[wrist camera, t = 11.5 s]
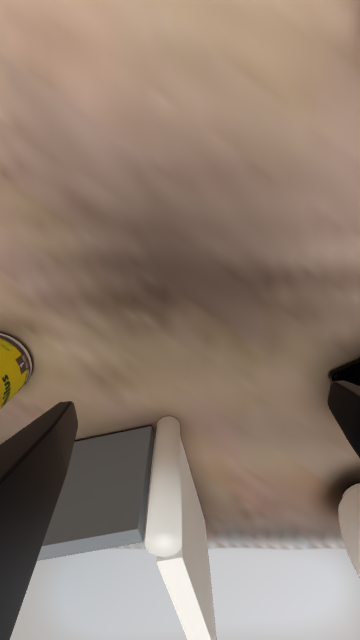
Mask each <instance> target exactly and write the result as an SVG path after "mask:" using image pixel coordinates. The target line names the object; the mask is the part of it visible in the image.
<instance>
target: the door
mask: <svg viewBox="0 0 360 640" xmlns="http://www.w3.org/2000/svg"><path fill="white" fill-rule="evenodd" d="M154 438H155V436H154V433H153V430H152V427H151V426H150V427H145V428H140V429H135V430H130V431H125V432H120V433H115V434H110V435H105V436H101V437H96V438H91V439H86V440H81V441H76V442H74V446H73V450H72V454H71V459H70V463H69V467H68V471H67V475H66V478H65V481H64V484H63V487H62V490H61V493H60V495H59V498H58V501H57V504H56V507H55V510H54V513H53V516H52V519H51V521H50V524H49V527H48V530H47V533H46V536H45V539H44V542H43V545H42V547H41V550H40V553H39V556H38V559H37V561H38V560H44V559H50V558H56V557H62V556H67V555H72V554H79V553H84V552H90V551H96V550H101V549H107V548H113V547H118V546H124V545H130V544H135V543H141V542H143V538H144V529H145V520H146V511H147V502H148V493H149V484H150V474H151V465H152V456H153V447H154Z"/></svg>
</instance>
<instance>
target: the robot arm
mask: <svg viewBox="0 0 360 640" xmlns="http://www.w3.org/2000/svg"><path fill="white" fill-rule="evenodd" d="M336 375H337V376H336ZM335 376H336V377H335ZM329 378H330V381H331V386H330V391H329V396H328V406H329V409H330V410H331V412H332V414H333V415H334V417H335V419H336V421H337V422H338V424H339V426H340V427H341V429H342V431H343V433H344V434H345V436H346V438H347V440H348V441H349V443H350V444H351V446H352V448H353V449H354V451H355V452H356V453H357V455H358V456H359V458H360V359H358V360H355V361H353V362H351V363H349V364H346V365H344V366H342V367H340V368H337V369H335V370H333V371H331V372H330V373H329ZM77 428H78V420H77V416H76V411H75V406H74V403H73V402H72V401H68V402H60V403H58V404H57V405H55V406H54V407H52V408H51V409H50V410H48V411H47V412H45V413H44V414H43V415H41V416H40V417H39V418H37V419H36V420H34V421H33V422H32V423H30V424H29V425H27V426H26V427H25V428H23V429H22V430H20V431H19V432H18V433H16V434H15V435H13V436H12V437H11V438H9V439H8V440H6V441H5V442H4V443H2V444H1V445H0V640H10V637H11V634H12V631H13V628H14V625H15V623H16V620H17V617H18V614H19V611H20V608H21V605H22V602H23V599H24V596H25V594H26V590H27V588H28V585H29V582H30V579H31V576H32V573H33V570H34V567H35V565H36V562H37V559H38V556H39V553H40V550H41V547H42V545H43V542H44V539H45V536H46V533H47V530H48V527H49V524H50V521H51V519H52V516H53V513H54V510H55V507H56V504H57V501H58V498H59V495H60V493H61V490H62V487H63V484H64V481H65V478H66V475H67V471H68V467H69V463H70V459H71V454H72V450H73V446H74V441H75V437H76V432H77Z"/></svg>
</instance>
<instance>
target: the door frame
mask: <svg viewBox="0 0 360 640" xmlns="http://www.w3.org/2000/svg"><path fill="white" fill-rule="evenodd" d="M145 548H146V549H147V551H148V552H149V553H151V554H153V555H155V556H157V561H156V562H157V564H158V567H159V569H160V572H161V575H162V577H163V579H164V582H165V584H166V587H167V590H168V592H169V594H170V597H171V599H172V602H173V604H174V607H175V609H176V612H177V615H178V617H179V619H180V622H181V624H182V627H183V629H184V632H185V634H186V637H187V639H188V640H217V637H216V627H215V617H214V607H213V597H212V587H211V577H210V566H209V556H208V546H207V536H206V526H205V520H204V516H203V513H202V509H201V506H200V502H199V499H198V496H197V492H196V489H195V485H194V482H193V478H192V475H191V471H190V468H189V465H188V461H187V458H186V454H185V451H184V447H183V444H182V441H181V437H180V423H179V421H178V420H177V419H176V418H174V417H171V416H166V417H163V418H161V419H160V420H159V421H158V423H157V430H156V440H155V449H154V459H153V469H152V478H151V488H150V497H149V507H148V517H147V526H146V536H145Z"/></svg>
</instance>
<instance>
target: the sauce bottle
mask: <svg viewBox="0 0 360 640" xmlns="http://www.w3.org/2000/svg"><path fill="white" fill-rule="evenodd" d="M338 514H339V524H340V529H341V534H342V538H343V541H344V544H345V547H346V550H347V553H348V555H349V557H350V559H351V561H352V564H353V566H354V568H355V570H356V572H357V574H358V576H359V577H360V483H358V484H355V485H353V486H351V487H350V488H348V489H347V490H346V491H345V492H344V494H343V496H342V500H341V502H340V504H339V508H338Z"/></svg>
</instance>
